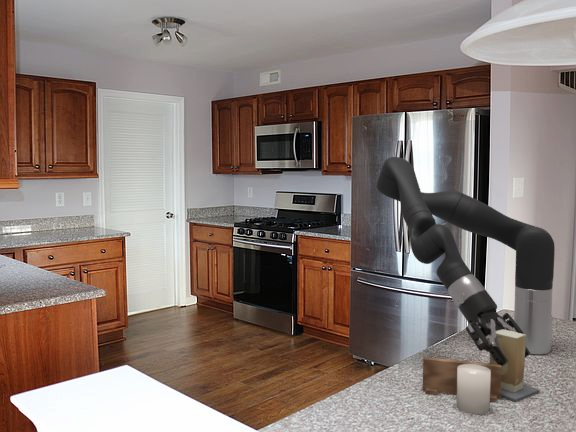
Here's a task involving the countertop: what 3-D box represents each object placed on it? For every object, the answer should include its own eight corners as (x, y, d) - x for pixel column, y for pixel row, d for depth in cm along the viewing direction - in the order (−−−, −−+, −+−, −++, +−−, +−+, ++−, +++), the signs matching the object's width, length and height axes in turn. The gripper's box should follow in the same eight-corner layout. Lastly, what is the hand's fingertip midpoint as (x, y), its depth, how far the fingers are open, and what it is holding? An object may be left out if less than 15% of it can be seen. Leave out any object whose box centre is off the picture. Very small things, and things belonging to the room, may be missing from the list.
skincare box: (487, 385, 121) (488, 331, 120) (497, 380, 124) (498, 327, 123) (515, 393, 116) (517, 337, 115) (525, 388, 119) (526, 333, 118)
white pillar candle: (469, 398, 115) (470, 361, 114) (496, 409, 110) (497, 370, 109) (449, 406, 111) (450, 368, 111) (476, 417, 106) (477, 377, 106)
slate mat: (502, 379, 126) (502, 377, 126) (539, 392, 118) (539, 389, 118) (478, 388, 121) (478, 385, 120) (515, 402, 113) (515, 399, 113)
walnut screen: (422, 393, 118) (422, 361, 117) (423, 385, 123) (424, 354, 122) (501, 402, 113) (501, 369, 112) (499, 393, 118) (500, 362, 117)
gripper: (480, 303, 133) (522, 362, 124) (442, 312, 125) (484, 375, 116) (500, 285, 128) (545, 345, 120) (462, 293, 120) (508, 358, 111)
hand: (515, 360), depth 118 cm, fingers open, 8 cm apart
